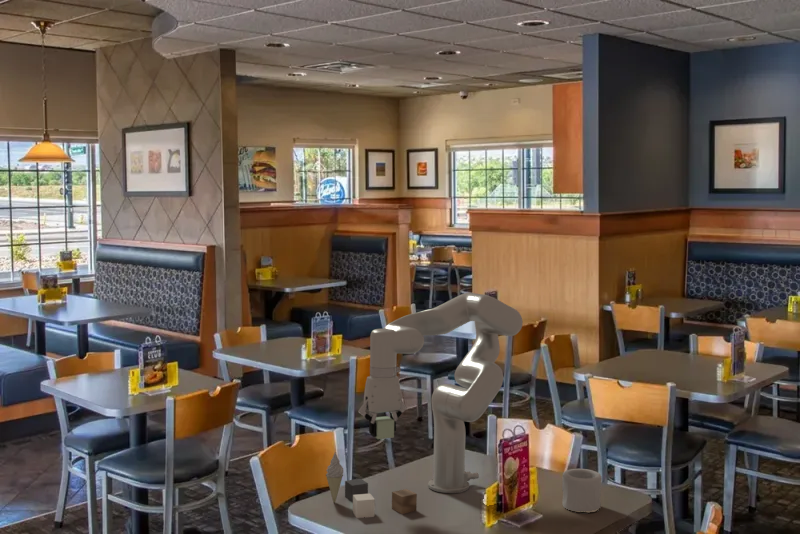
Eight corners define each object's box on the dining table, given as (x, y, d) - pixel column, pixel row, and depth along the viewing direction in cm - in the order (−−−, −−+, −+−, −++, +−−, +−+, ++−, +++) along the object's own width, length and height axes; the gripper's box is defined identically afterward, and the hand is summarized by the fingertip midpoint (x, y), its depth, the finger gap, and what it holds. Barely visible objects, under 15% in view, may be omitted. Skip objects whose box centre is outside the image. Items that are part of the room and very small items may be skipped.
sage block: (386, 433, 258) (387, 416, 258) (393, 437, 254) (394, 420, 253) (371, 434, 256) (371, 417, 256) (377, 439, 252) (378, 421, 251)
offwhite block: (370, 510, 251) (370, 493, 250) (374, 516, 246) (374, 499, 246) (352, 512, 249) (352, 494, 249) (356, 518, 245) (357, 500, 244)
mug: (608, 510, 254) (609, 475, 253) (580, 516, 248) (581, 481, 248) (576, 496, 266) (577, 463, 265) (548, 502, 260) (549, 468, 259)
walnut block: (406, 505, 255) (406, 488, 255) (416, 511, 251) (416, 493, 251) (391, 509, 252) (392, 491, 252) (401, 514, 248) (402, 496, 248)
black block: (360, 495, 264) (360, 478, 264) (367, 500, 260) (367, 483, 259) (344, 497, 262) (345, 480, 261) (352, 502, 257) (352, 485, 257)
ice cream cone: (340, 506, 254) (340, 454, 253) (323, 504, 255) (323, 453, 254) (345, 500, 259) (345, 449, 258) (328, 499, 260) (328, 448, 259)
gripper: (404, 368, 261) (403, 429, 262) (350, 371, 253) (349, 434, 255) (415, 372, 254) (414, 435, 255) (360, 376, 247) (359, 441, 248)
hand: (382, 434), depth 255 cm, fingers closed on sage block, 5 cm apart
